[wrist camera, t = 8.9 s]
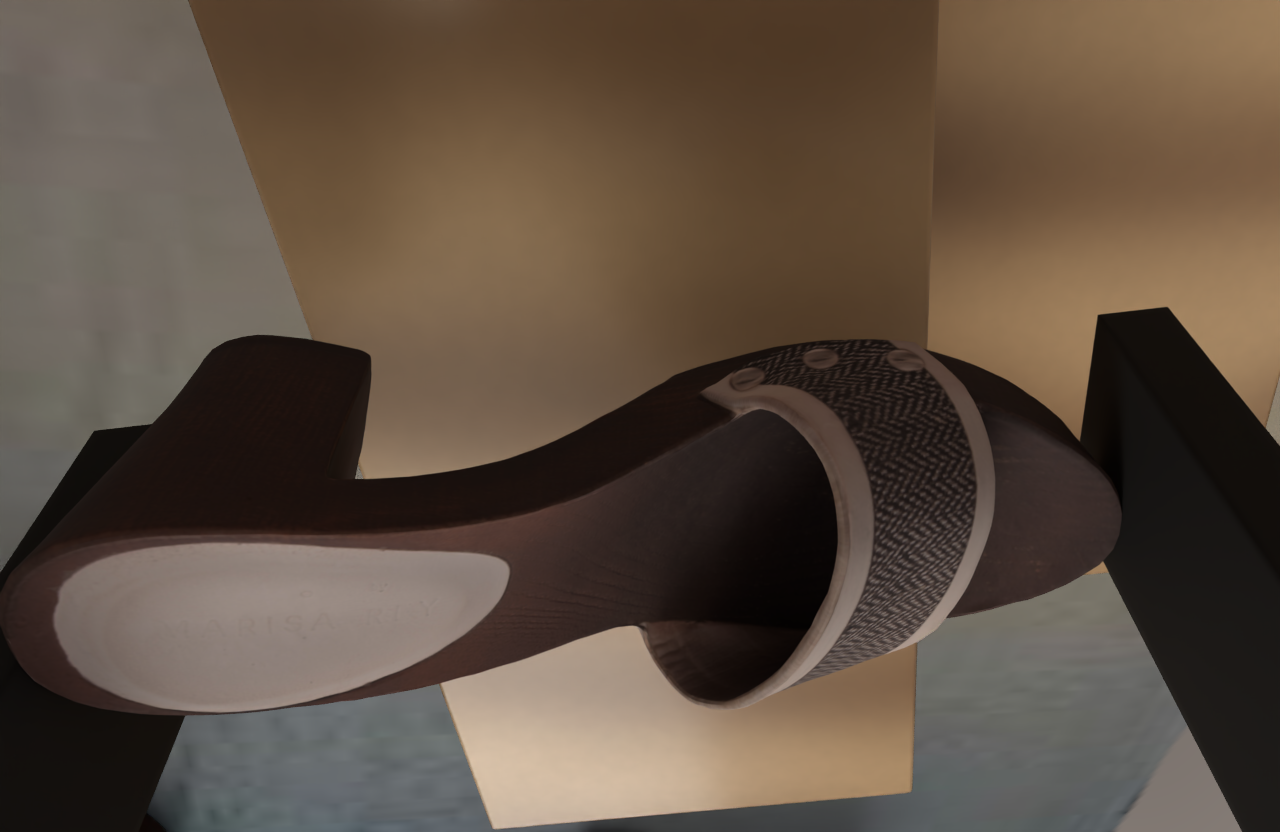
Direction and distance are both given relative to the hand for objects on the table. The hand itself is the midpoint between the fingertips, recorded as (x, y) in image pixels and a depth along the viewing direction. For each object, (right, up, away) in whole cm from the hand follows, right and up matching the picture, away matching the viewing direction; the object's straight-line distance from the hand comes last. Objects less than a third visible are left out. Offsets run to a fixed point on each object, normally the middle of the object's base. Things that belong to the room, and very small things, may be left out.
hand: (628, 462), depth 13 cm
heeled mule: (0, 0, 0) cm, 0 cm away
